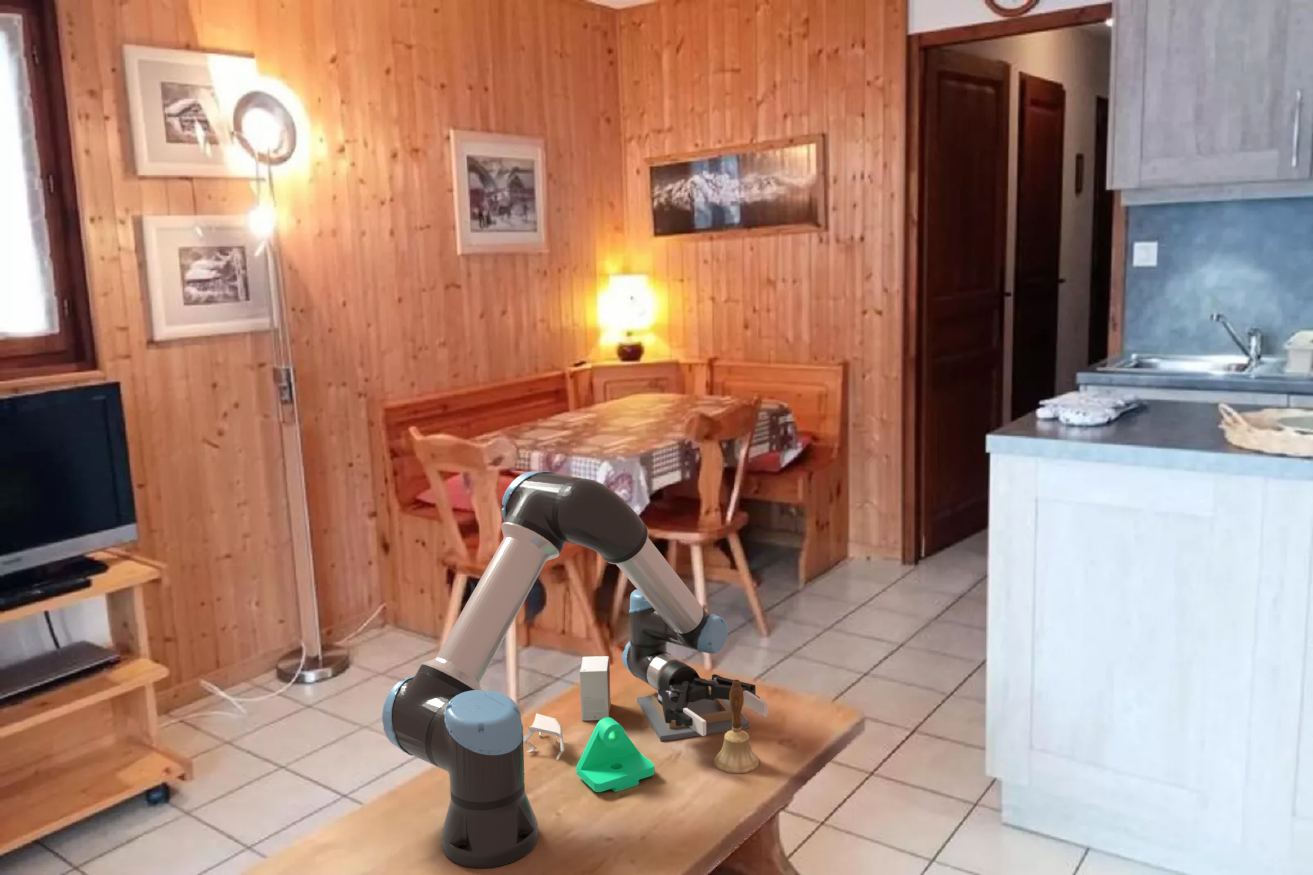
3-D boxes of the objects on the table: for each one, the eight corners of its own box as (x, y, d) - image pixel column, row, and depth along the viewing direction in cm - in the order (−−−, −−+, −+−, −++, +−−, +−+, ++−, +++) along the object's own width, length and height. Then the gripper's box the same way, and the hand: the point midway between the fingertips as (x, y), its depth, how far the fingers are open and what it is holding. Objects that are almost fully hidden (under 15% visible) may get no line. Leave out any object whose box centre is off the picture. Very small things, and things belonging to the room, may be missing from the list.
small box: (609, 721, 206) (607, 671, 204) (580, 721, 206) (579, 671, 204) (611, 703, 214) (609, 655, 212) (584, 703, 214) (582, 655, 212)
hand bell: (768, 764, 187) (768, 682, 185) (732, 778, 183) (732, 694, 180) (740, 747, 194) (739, 667, 191) (704, 760, 190) (703, 678, 187)
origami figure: (510, 748, 196) (508, 724, 195) (543, 732, 202) (542, 709, 201) (552, 768, 188) (551, 743, 187) (585, 751, 194) (585, 727, 193)
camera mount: (596, 799, 177) (595, 743, 176) (576, 779, 184) (574, 726, 182) (656, 779, 183) (655, 725, 182) (635, 761, 190) (634, 709, 188)
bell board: (660, 741, 197) (660, 729, 197) (636, 702, 214) (636, 690, 214) (749, 727, 202) (749, 715, 201) (719, 690, 219) (719, 679, 218)
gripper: (725, 682, 213) (789, 721, 195) (619, 711, 201) (677, 756, 183) (725, 647, 212) (789, 683, 194) (618, 675, 199) (677, 716, 181)
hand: (735, 719), depth 188 cm, fingers open, 13 cm apart
